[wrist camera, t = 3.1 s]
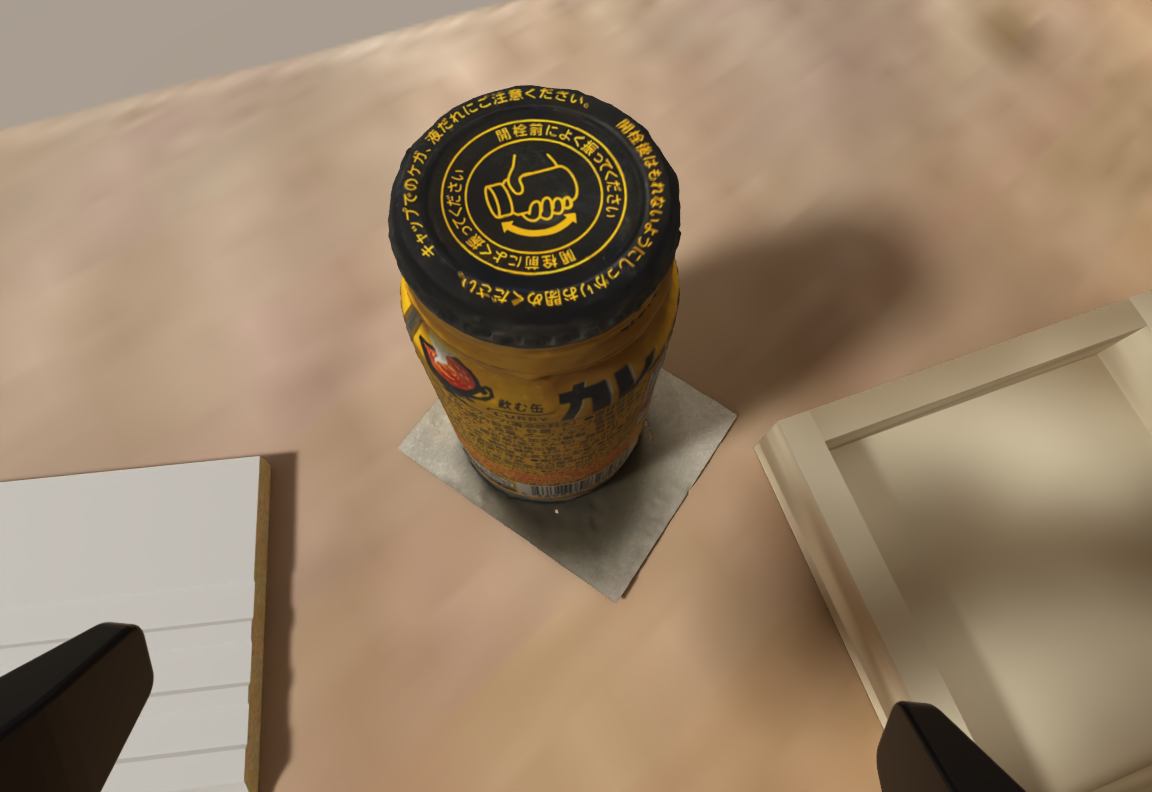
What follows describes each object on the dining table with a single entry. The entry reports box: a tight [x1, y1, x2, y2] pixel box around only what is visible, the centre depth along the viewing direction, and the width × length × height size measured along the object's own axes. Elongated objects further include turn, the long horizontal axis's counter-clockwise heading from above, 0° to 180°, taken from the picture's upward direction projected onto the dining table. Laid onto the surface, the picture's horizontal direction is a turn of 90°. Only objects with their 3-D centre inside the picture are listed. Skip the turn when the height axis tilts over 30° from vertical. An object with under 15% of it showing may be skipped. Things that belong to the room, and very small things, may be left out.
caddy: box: [754, 290, 1152, 792], centre depth 20 cm, size 13×13×3 cm
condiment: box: [388, 85, 737, 603], centre depth 18 cm, size 7×8×12 cm
